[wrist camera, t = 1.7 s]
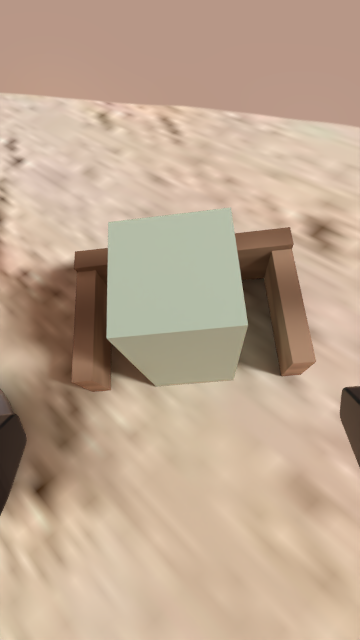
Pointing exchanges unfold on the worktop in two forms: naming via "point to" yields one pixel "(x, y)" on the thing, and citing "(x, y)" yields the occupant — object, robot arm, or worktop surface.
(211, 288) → the block
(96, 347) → the walnut bay
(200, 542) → the worktop surface
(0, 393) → the charcoal pad
